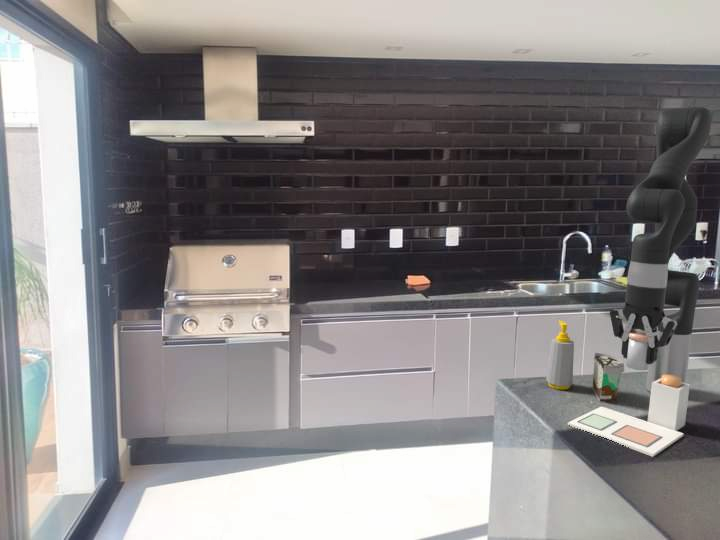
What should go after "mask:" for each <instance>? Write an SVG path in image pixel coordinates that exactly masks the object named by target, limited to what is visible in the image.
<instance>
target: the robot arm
mask: <svg viewBox="0 0 720 540" xmlns="http://www.w3.org/2000/svg"><path fill="white" fill-rule="evenodd" d="M711 122H712V116H711V113H710V110H709V109H708V108H706V107H703V106H690V107H676V108H675V107H673V108H665V109H662V110H661V111H660V112H659V113H658V116H657V121H656V135H655V137H656V138H655V139H656V159H655V160H654V162H653V164H652V166H651V167H650V168H651V169H650V171H649V172H648V175H647V177H646V178H644V180H643V181H641V182H640V183H639V184H638V185H637V186H636V187H635V188H634V189H633V190H632V192H631V193H630V195H629V196H628V199H627V202H626V207H625V208H626V213H627V216H628V217H629V218H630V219H631V220H633V221H635V222H640V223H654V231H653V232H646V233H638V234H636V235H635V236H634V237H633V238H632V239H633V240H632V244H631V254H630V255H631V256H630V262H629V267H628V272H627V277H626V281H627V282H626V291H625V300H624V301H625V302H624V303H625V304H624V306H623V308H620V309H619V308H615V309H611V310H610V311H609V317H610V321H611V325H612V331H613V336H614V338H615V337H616V338H620V340H621V342H622V343H621V351H620V352H621V355H622V357H623V359H626V360H627V353H628V344H629V333H630V332H634V331H638V330H640V331H642V332H645V334H646V337H648V343H649V347H648V350H647V359H646V364H649V369H648V370H647V374H646V375H647V377H646V385H645V386H646V387H645V389H646V390H647V392H650V393H651V387H652V382H654V381H656V380H658V379H660V378H662V375H665V374H668V375H674V376H678V377H680V378H681V382H682V383H686V384H687V376H688V375H687V374H688V367H689V359H690V352H691V351H690V350H691V343H692V335H693V329H694V328H693V327H694V320H695V314H696V306H697V301H698V296H699V291H700V279H699V276H698V275H697V274H696V273H694V272H687V271H678V270H671V269H670V270H669V264H670V260H671V258H672V256H673V255H674V253H675V252H676V250H678V248H679V247H680V246H681V244H683V243H684V241H685V240H686V239H687V238H688V237H689V236H690V234H691V233H692V232H693V230H694V229H695V226H696V224H697V213H698V198H697V195H696V193H695V191H694V188H693V187H692V186H691V185H690V184H689V182H688V181H687V179H686V176H687V173H688V171H689V168H690V167H691V165H692V163H693V162H694V161H695V159H696V158H697V157H698V155H699V153H700V152H701V150H702V149H703V148H704V146H705V145H706V143H707V142H708V139H709V137H710V133H711V127H712V123H711ZM665 305H667V306H674V307H679V310H678V311H677V312H675V313H672V314H669V315H667V314H666V313H665V312H664V311H665V310H664V309H665ZM624 317H625V319H626V321H627V322H626V325H625V327H624V324H623V318H624Z"/></svg>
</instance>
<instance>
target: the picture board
mask: <svg viewBox="0 0 720 540" xmlns="http://www.w3.org/2000/svg"><path fill="white" fill-rule="evenodd" d="M569 425H570V426H569ZM567 426H569V427H571V426H572V427H571V428H574V427H575V428H574V429H577V428H578V429H577V430H579V429H581V430H580V431H582V430H584V431H583V432H585V431H587V432H590V433H592V434H591V435H593V434H595V435H594V436H596V435H598V436H601V437H604V438H607V439H609V440H612V441H614V442H617V443H619V444H618V445H620V444H621V445H620V446H622V445H624V446H623V447H625V446H626V447H625V448H628V447H629V448H628V449H631V450H634V451H636V452H638V453H642V454H644V455H647V456H650V457H652V458H653V457H655V456H656V455H658V454H659V453H661V452H662V451H663V450H665V449H666V448H668V447H669V446H671V445H673V443H675V442H677V441H678V440H680V439H681V438H683V437H684V433H683V432H681V431H678V430H677V431H675V430H672V429H669V428H666V427H663V426H660V425H657V424H653V423H650V422H648V420H647V421H646V420H644V419H641V418H637V417H635V416H631V415H628V414H626V413H622V412H620V411H616V410H614V409H611V408H607V407H604V406H599V407H598V408H595V409H593V410H591V411H588V412H587V413H584V414H583V415H580V416H579V417H576V418H574V419H573V420H570V421H569V422H567ZM587 432H586V433H587ZM590 433H589V434H590ZM598 436H597V437H598ZM601 437H600V438H601ZM604 438H603V439H604ZM609 440H608V441H609ZM612 441H611V442H612ZM614 442H613V443H614ZM617 443H616V444H617Z"/></svg>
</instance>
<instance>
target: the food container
mask: <svg viewBox="0 0 720 540" xmlns="http://www.w3.org/2000/svg"><path fill="white" fill-rule="evenodd" d="M593 356H594V357H593V360H594V361H593V375H592V376H593V377H592V391H593V392H594V395H595V396H596V398H597V399H598V401H599V403H600V402H603V403H610V402H614V401H616V400H617V396H618V391H619V384H620V380H621V376H622V375H621V374H622V373H624V372H625V366H624V362H623V360H622V359H621V358H619V357H616V356H614V355H611V354H606V353H599V352H594V355H593Z"/></svg>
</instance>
